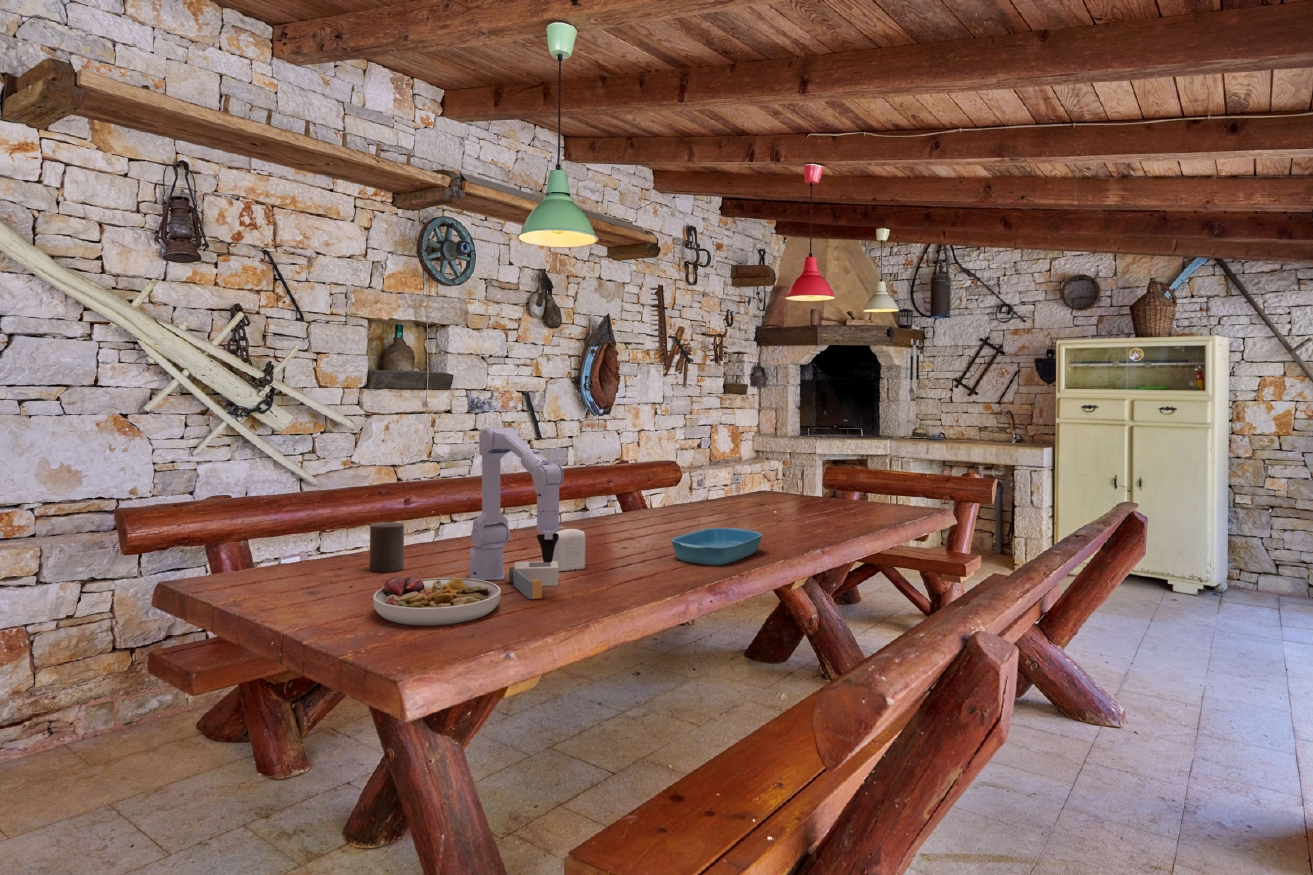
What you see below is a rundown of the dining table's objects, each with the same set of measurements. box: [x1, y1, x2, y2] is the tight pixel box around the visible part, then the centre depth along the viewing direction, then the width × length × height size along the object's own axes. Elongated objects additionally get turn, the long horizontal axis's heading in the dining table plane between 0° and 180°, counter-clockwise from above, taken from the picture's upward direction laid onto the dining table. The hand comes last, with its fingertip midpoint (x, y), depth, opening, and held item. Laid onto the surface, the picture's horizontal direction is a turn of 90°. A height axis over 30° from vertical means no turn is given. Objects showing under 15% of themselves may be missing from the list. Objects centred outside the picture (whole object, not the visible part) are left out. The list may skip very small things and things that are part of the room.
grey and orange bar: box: [512, 570, 543, 600], centre depth 211 cm, size 15×4×5 cm, turn 25°
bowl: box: [372, 575, 502, 627], centre depth 193 cm, size 30×30×8 cm
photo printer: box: [552, 528, 586, 572], centre depth 240 cm, size 10×4×12 cm, turn 123°
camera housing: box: [508, 560, 559, 587], centre depth 223 cm, size 14×9×5 cm, turn 99°
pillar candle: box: [369, 519, 405, 574], centre depth 237 cm, size 10×10×15 cm
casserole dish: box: [671, 527, 763, 566], centre depth 263 cm, size 37×22×7 cm, turn 147°
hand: (547, 561), depth 207 cm, fingers closed
